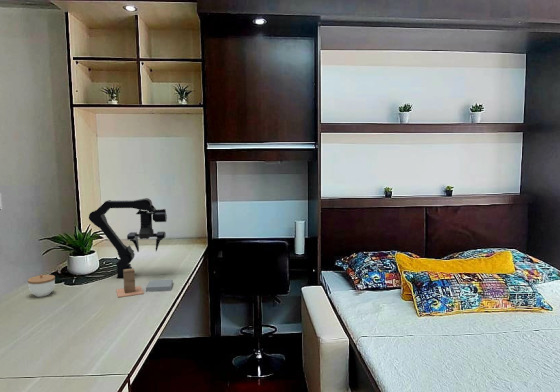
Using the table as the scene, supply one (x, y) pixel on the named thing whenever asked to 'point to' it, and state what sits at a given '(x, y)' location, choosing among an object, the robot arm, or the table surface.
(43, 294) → the lidded jar
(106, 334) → the table surface
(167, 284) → the grey ledge
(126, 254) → the robot arm
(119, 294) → the terracotta mat
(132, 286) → the walnut block
